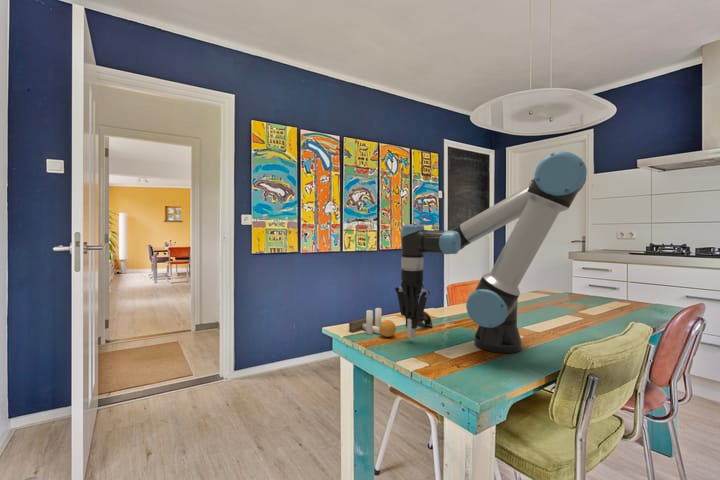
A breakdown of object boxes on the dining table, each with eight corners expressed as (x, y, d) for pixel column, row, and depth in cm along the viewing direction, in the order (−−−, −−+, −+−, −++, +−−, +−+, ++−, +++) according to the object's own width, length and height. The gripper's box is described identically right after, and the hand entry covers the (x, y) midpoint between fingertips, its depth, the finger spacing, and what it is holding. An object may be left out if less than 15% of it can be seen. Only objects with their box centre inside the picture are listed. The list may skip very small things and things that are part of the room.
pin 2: (382, 330, 139) (382, 308, 139) (378, 331, 137) (378, 309, 137) (377, 329, 141) (378, 307, 140) (373, 330, 139) (373, 308, 139)
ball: (383, 324, 137) (393, 337, 134) (373, 329, 132) (384, 342, 130) (390, 314, 134) (401, 326, 131) (381, 319, 129) (392, 332, 127)
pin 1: (373, 333, 135) (374, 310, 135) (369, 334, 134) (369, 312, 133) (369, 332, 137) (369, 309, 137) (364, 333, 135) (365, 310, 135)
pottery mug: (436, 331, 140) (427, 314, 138) (413, 340, 142) (405, 324, 140) (431, 316, 152) (423, 300, 150) (410, 324, 153) (402, 309, 151)
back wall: (375, 325, 146) (375, 317, 145) (352, 332, 136) (352, 323, 136) (371, 324, 147) (371, 316, 147) (349, 331, 137) (349, 322, 137)
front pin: (383, 327, 135) (366, 322, 141) (378, 329, 134) (361, 324, 139) (383, 333, 136) (366, 328, 141) (379, 335, 134) (362, 330, 140)
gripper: (434, 270, 123) (433, 338, 124) (403, 266, 132) (402, 330, 133) (422, 272, 117) (421, 343, 118) (390, 268, 126) (389, 335, 127)
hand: (411, 336), depth 126 cm, fingers closed
